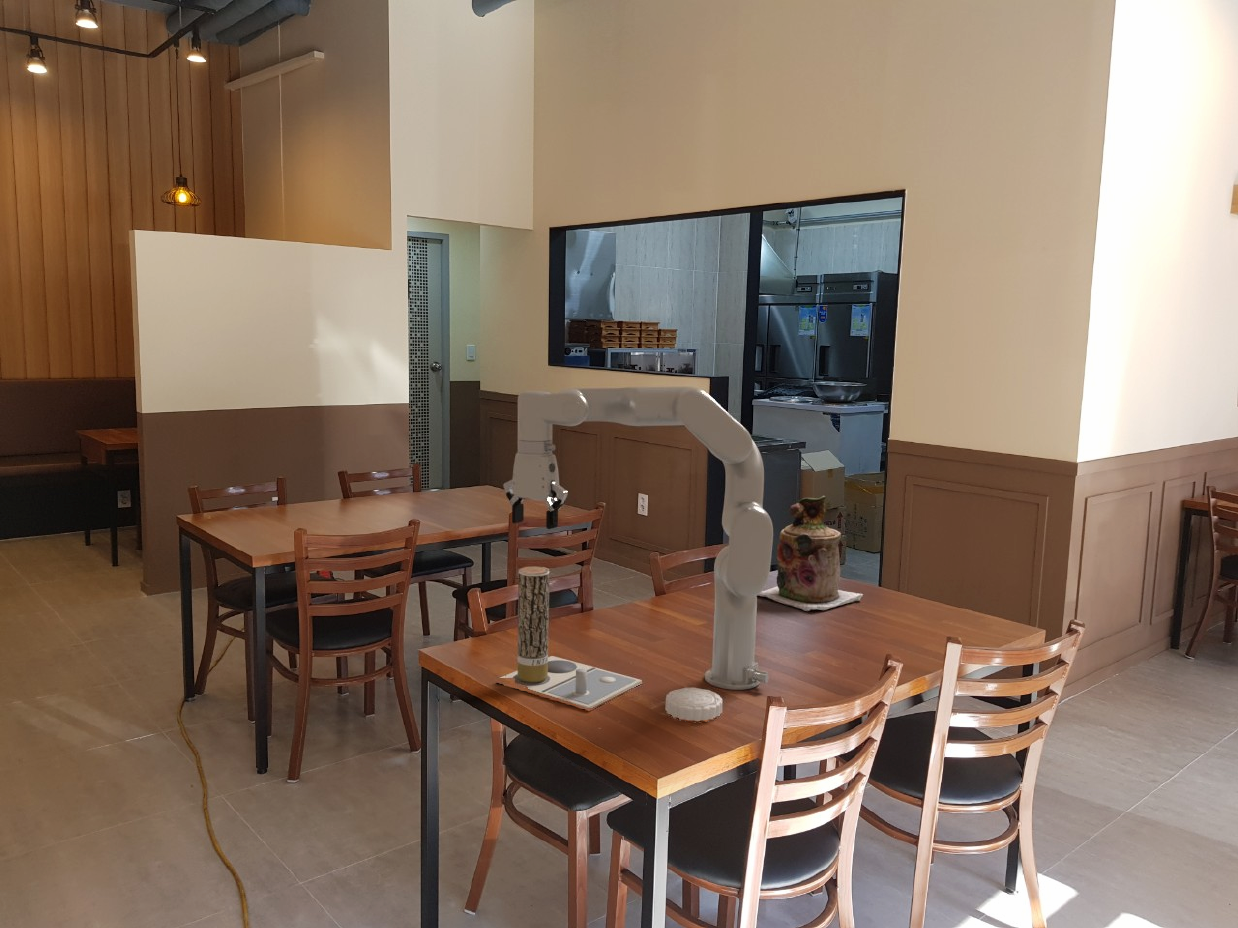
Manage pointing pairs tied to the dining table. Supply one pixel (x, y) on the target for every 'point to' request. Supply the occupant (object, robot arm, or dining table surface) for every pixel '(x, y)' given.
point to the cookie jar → (809, 561)
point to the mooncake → (693, 704)
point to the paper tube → (533, 623)
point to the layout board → (569, 675)
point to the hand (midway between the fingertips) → (534, 525)
